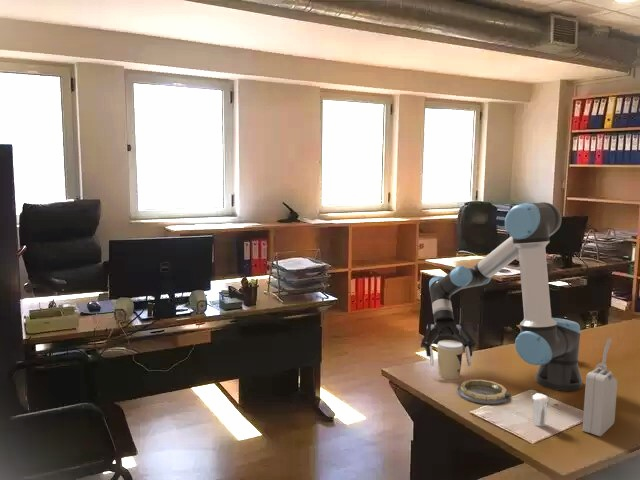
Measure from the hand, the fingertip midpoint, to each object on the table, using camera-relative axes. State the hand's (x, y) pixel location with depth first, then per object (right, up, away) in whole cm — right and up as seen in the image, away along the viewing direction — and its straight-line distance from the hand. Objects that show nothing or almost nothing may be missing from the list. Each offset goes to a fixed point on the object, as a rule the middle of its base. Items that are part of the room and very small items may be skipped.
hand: (451, 364), depth 199 cm
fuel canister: (+35, -10, -37) cm, 52 cm away
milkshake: (+17, -10, -36) cm, 41 cm away
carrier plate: (+7, -7, -15) cm, 18 cm away
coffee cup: (0, -5, +3) cm, 6 cm away
